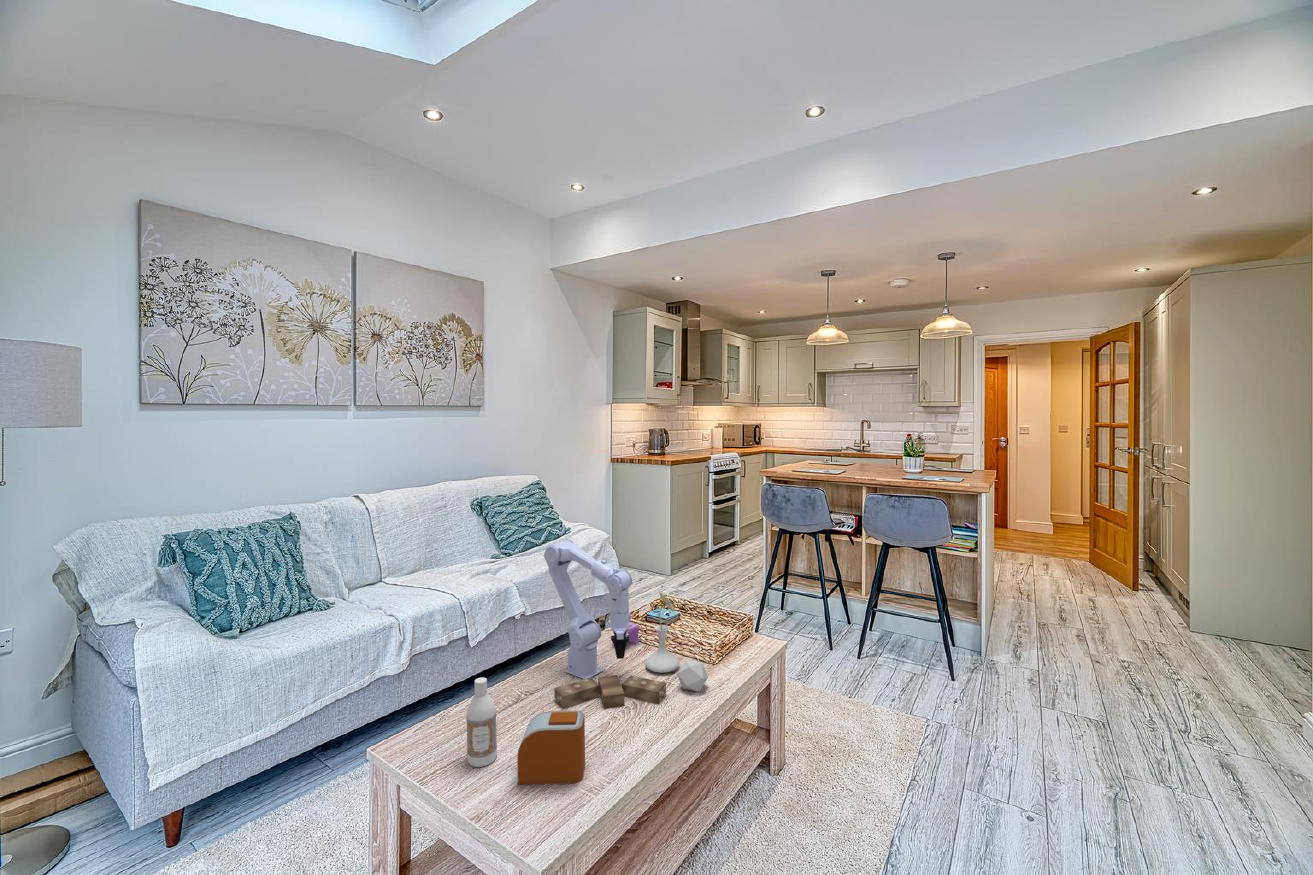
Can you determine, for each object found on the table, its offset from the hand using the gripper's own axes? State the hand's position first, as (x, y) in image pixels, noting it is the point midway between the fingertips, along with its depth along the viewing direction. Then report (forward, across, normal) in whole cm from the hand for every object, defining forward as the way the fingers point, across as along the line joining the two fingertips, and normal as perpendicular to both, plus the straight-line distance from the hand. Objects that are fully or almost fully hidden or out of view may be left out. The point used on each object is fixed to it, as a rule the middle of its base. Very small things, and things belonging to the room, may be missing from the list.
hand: (620, 652), depth 172 cm
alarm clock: (+10, -41, +16) cm, 46 cm away
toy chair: (+10, +29, -2) cm, 30 cm away
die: (+10, -5, -22) cm, 25 cm away
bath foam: (+10, -35, +34) cm, 50 cm away
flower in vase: (+10, +10, -14) cm, 20 cm away
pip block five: (+10, -8, -7) cm, 15 cm away
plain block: (+10, -8, +3) cm, 13 cm away
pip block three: (+10, -8, +13) cm, 18 cm away
